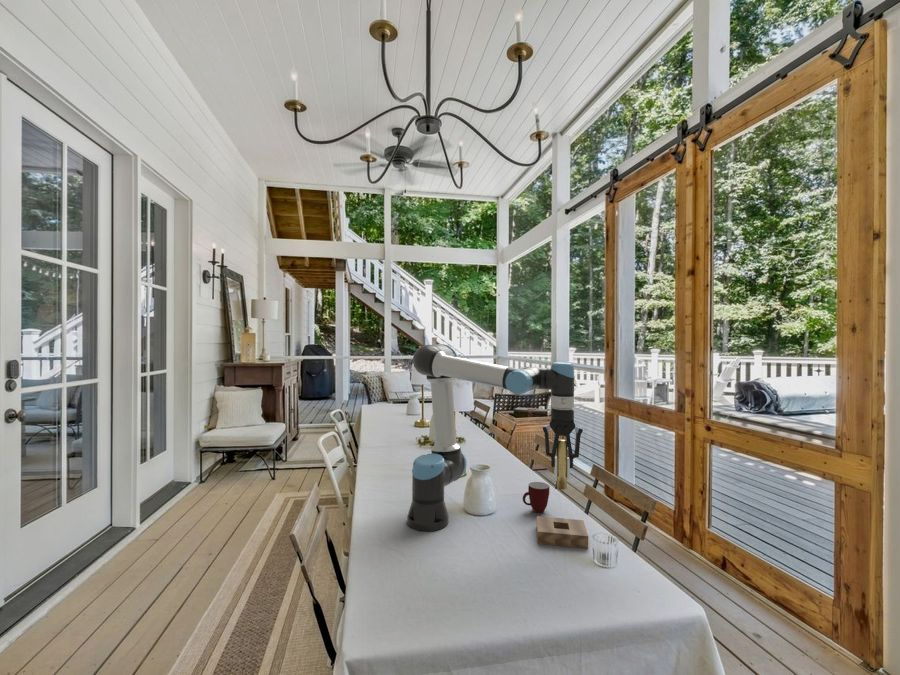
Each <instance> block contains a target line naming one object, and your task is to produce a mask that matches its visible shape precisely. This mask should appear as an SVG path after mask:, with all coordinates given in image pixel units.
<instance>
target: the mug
mask: <svg viewBox="0 0 900 675" xmlns="http://www.w3.org/2000/svg"><path fill="white" fill-rule="evenodd" d="M527 490H528V491H527V492H526V491H525V493H523V496H522V502H523V503H524V504H525V505H526V506H530V507H531V508H532V511H533V512H535V513H537V514H540V513H544V512H545V511H546V508H547V506H548V502H549V498H550V484H548V483H546V482H543V481H542V482H541V481H532V482H529V483H528V488H527ZM527 496H528V497H529V498H528V499H529V502H526V497H527Z"/></svg>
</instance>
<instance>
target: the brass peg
mask: <svg viewBox="0 0 900 675" xmlns="http://www.w3.org/2000/svg"><path fill="white" fill-rule="evenodd" d="M556 457H557V478H556V489H558V490H568V479H567V457H568V447H567V440H566V439H561V438H559V439H558V444H557V450H556Z"/></svg>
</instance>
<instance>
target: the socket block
mask: <svg viewBox="0 0 900 675" xmlns="http://www.w3.org/2000/svg"><path fill="white" fill-rule="evenodd" d="M536 539H537V545H538V544H539V545H549V546H556V547H557V546H559V547H560V546H561V547H569V548H580V549H589V534H588V531H587V528H586V525H585V521H584V520H583V519H575V518H562V517H561V518H560V517H552V516H539V515H537V516H536Z"/></svg>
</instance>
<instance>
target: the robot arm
mask: <svg viewBox="0 0 900 675" xmlns="http://www.w3.org/2000/svg"><path fill="white" fill-rule="evenodd" d="M412 364H413V367H414V369H415V371H416V372H417V373H419V374H421V375H422V376H423V375H424V376H426V381H428V382H429V383H430V391H431V392H430V393H431V407H432V408H431V409H432V421H433V422H432V424H433V436H434V437H433V438H434V444H433V446H432V447H431V448H430V450H431V453H427V454H420V455H419V456H417V457H416V458H415V459H414V460H413V462H412V470H411V473H412V475H411V476H412V477H411V478H412V485H411V486H412V487H411V488H412V492H411V495H412V499H411V503H410V506H409V510H408V513H407V516H406V518H407V519H406V522H407V523H406V524H407V526H408V527H410V528H411V529H414V530H417V531H419V532H434V531H438V530H442V529H444V528H446V527H447V526H448V525H449V522H450V521H449V516H450V515H449V512H448V509H447V506H446V503H445V487H446V486H448V485H450V484H451V483H453V482H455V481H457V480H459V479H460V478H461V477H462V476H463V475H464V473H465V472H466V469H467V458H466V455H465V454H464V453H463V452H462V450H461V448H462V447H461V445H460V444H459V443H458V442H457V431H456V417H455V416H456V415H455V404H454V390H453V389H454V388H453V381H454V380H455V379H456V380H461V381H466V382H471V383H475V384H478V385H479V384H481V385H484V386H489V387H495V388H498V389H503V390H507V391H509V392H510V393H512V394H515V395H522V394H526V393H528V392H530V391H531V392H532V391H534V390H550V392H551V394H550V395H551V396H550V405H551V406H550V407H551V409H550V422H549V424H547V425H542V431H543V433H544V443H545V444H544V445H545V446H544V447H545V454H546V456H547V457H549V458H551V459H550V465H551V467H552V468H554V471H553V472H554V473H553V474H554V478H555V479H557V444H558V440H559V439H560V437H562V436H563V437H565V440H567V454H568V456H567V480H568V479H570V478H571V476H570V473H571V469H573V468H574V459H576V458H579V456H580V445H581V437H582V436H581V435H582V434H583V431H584V430H583V427H581V426H577V425H576V424H575V409H574V407H575V368H574V364H573V363H571V362H559V361H557V362H552V363H551V366H550V367H537V366H536V367H535V366H521V367H518V368H516V367H511V366H506V365H501V364H496V363H490V362H485V361H480V360H475V359H470V358H469V359H468V358H463V357H460V355H459V352H458V351H457V349H455V348H454V347H453V346H451V345H449V344H444V343H443V344H442V343H440V344H425V345H422V346H419V347H418V348H417V349H416V351H415V352H414V353H413V357H412ZM550 429H551V430H552V431H553V433H554V434H553V435H554V437H553V443H552V448H551V451H550V439H549V438H550V435H549V432H550ZM573 431H574V432H575V441H574V442H575V443H574V452H573V448H572V442H571V434H572V433H573Z"/></svg>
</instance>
